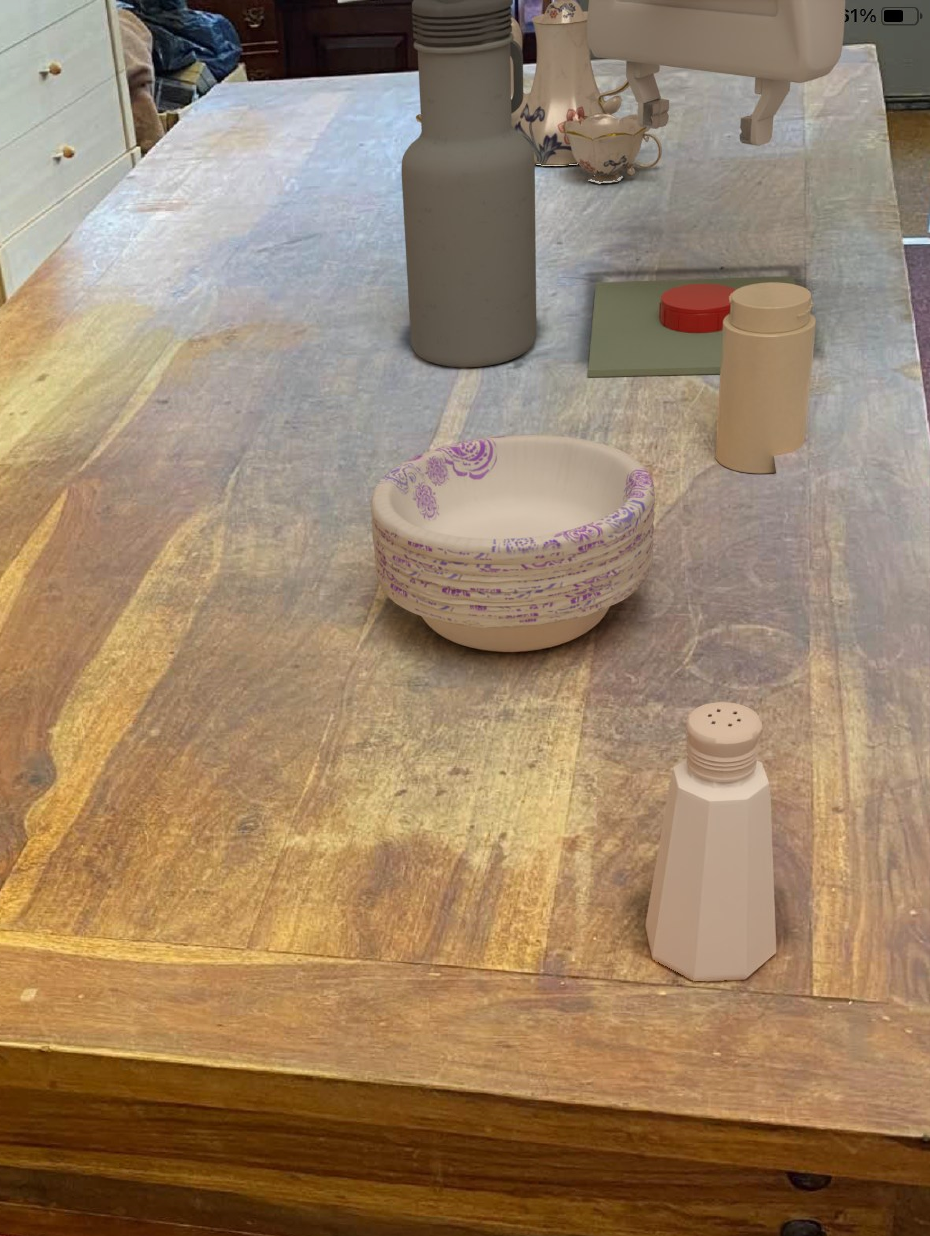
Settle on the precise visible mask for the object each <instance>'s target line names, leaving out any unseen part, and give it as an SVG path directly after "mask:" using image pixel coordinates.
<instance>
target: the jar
mask: <svg viewBox="0 0 930 1236" xmlns="http://www.w3.org/2000/svg"><path fill="white" fill-rule="evenodd" d="M812 297H813V296H812V292H811V291H810V290H809V289H808V288H807V287H804V286H801V285H797V284H796V285H794V284H788V283H774V282H772V283H758V284H752V285H747V286H744V287H741V288H739V289H737V290H735V291H734V292H733V293H731V295H730V296H729V302H731V305H730V314H728V315H727V316H726V317H725V318H724V320H723V330H722V348H721V366H720V374H719V385H718V403H717V405H718V407H717V421H716V438H715V439H716V441H715V459H716V461H717V462H718V463H719V464H720V465H722V466H723V467H725V468H726V469H730V470H733V471H735V472H741V473H747V474H775V473H777V469H776V461H775V456H776V457H777V456H782V455H786V454H790V453H793V452H796V451H797V450H800V448H802V447H803V446H804V445H805V443H806V438H807V427H808V419H809V418H808V417H809V406H810V405H809V404H810V396H811V395H810V394H811V383H812V372H813V371H812V370H813V362H814V361H813V360H814V349H815V337H816V328H817V327H816V326H817V319H816V317H815V315H813V314H812V313H811V311H812V309H813V307H814V303H813V299H812Z"/></svg>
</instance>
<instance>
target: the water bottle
mask: <svg viewBox="0 0 930 1236" xmlns="http://www.w3.org/2000/svg"><path fill="white" fill-rule="evenodd" d="M513 4H514V0H412V2H411V13H412V15H411V17H412V31H413V32H412V35H413V36H412V38H413V39H415V41H414V42H413V48H414V49H415V50H416V51H417V62H418V63H417V64H418V65H417V67H418V83H419V84H418V85H419V107H420V109H419V110H420V114H421V123H420V125H421V126H420V127H421V131H420V135H419V136H418V137H417V138H416V139H415V140H414V141H413V142H411V143H410V145H409V146H408V147H407V149H406V150H405V152H404V153H403V155H402V158H401V159H402V160H401V189H402V191H401V192H402V205H403V206H402V208H403V226H404V242H405V243H404V244H405V261H406V277H407V278H406V279H407V280H406V281H407V296H408V298H407V299H408V314H409V333H410V344H411V347H412V349H413V351H414V352H415V354H416V355H417V356H419V357H420V358H421V359H423V360H425V361H427V362H430V363H432V364H435V365H439V366H445V367H453V368H480V367H486V366H487V367H488V366H494V365H498V364H502V363H507V362H509V361H511V360H514V359H516V358H519V357H520V356H522V355H523V354H525V353H527V352H528V351H530V349H531V348H532V346H533V345H534V343H535V341H536V338H537V332H538V331H537V252H536V251H537V250H536V249H537V248H536V247H537V244H536V243H537V242H536V236H537V235H536V165H535V161H534V153H533V149H532V146H531V145H530V143H529V142H528V141H527V139H526V138H525V137H524V136H523V135H521V134H520V133H518V132H517V131H515V130H514V129H513V127H512V121H511V113H514V112H515V111H516V110H517V109H518V108H519V107H520V106H521V104H522V101H523V92H524V55H523V48H522V49H521V47H520V46H519V44H518V43H517V42H515V41H514V40H513V39H514V36H513V34H512V33H511V32H512V26H511V24H512V20H511V18H512V17H513V15H512V13H511V12H513V10H512V9H513V8H512V6H513ZM510 56H511V58H512V60H513V77H514V93H513V97H512V99H511V66H510Z"/></svg>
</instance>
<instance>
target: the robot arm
mask: <svg viewBox="0 0 930 1236" xmlns="http://www.w3.org/2000/svg"><path fill="white" fill-rule="evenodd" d="M587 7H588V8H587V12H588V17H587V42H588V44H589V47H590V52H592V54H593V56H594V57H595V58H600V59H607V60H614V61H615V60H616V61H623V62H626V63H625V77H626V81H627V80H628V82H629V85H630V86H629V87H630V89H631V92H632V94H633V96H634V99H635V101H636V103H638V104H637V115H638V125H639V126H640V127H644V128H650V129H653V130H654V129H655V130H657V129H659V128H664V127H666V126H667V124H668V123H669V113H668V112H669V109H670V99H666V98H662V96H661V93H660V90H659V86H658V83H657V81H656V77H655V74H657V73H659V72H660V67H661V66H662V67H663V66H664V67H671V68H679V69H687V70H693V71H702V72H708V73H717V74H725V75H732V76H733V75H734V76H739V77H740V76H742V77H748V78H754V94H755V95H761V96H760V97H759V99H758V101H757V102H756V105H755V107H754V110H753V112H752V114H750V115H745V116H742V117H740V126H739V128H740V131H741V132H740V134H739V142H740V143H741V144H744V145H751V146H757V147H761V146H763V145H765V144H768V143H770V142H771V141H772V138H773V129H774V116H775V115H776V114H777V113H778V111H779V110H780V107H781V106H782V104H783V103H784V100H785V99H786V97H787V96H788V95H789V92H790V91H791V83H794V84H796V83H797V84H803V83H807V82H811V81H814V80H817V79H820V78H823V77H825V76H827V75H829V74H830V73H831V72H832V71H833V69H834V68H835V67H836V65H837V64H838V63H839V61H840V59H841V56H842V51H843V45H844V35H845V34H844V33H845V21H846V20H845V19H846V0H588V6H587Z"/></svg>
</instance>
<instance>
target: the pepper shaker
mask: <svg viewBox="0 0 930 1236" xmlns="http://www.w3.org/2000/svg"><path fill="white" fill-rule="evenodd" d="M763 723H764V722H763V721H762V718H761V717H760V716H759V715H758V713H756V711H755V710H754V709H752V708H750V707H748V706H745V705H743V704H741V703H735V702H730V701H729V702H728V701H715V702H709V703H705V704H702V705H700V706H698V707H696V708H695V709H693V710H691V712H690V713H689V714H688V716H687V717H686V719H685V729H686V733H687V738H686V750H685V751H686V755H687V757H686V758H684V759H682V760H681V761H680V762H679V763H677V764H676V765H674V766H673V767H672V772H671V775H670V779H669V784H668V790H667V795H666V796H667V797H666V801H665V806H664V807H665V808H664V814H663V819H662V825H661V831H660V837H659V843H658V848H657V855H656V860H655V866H654V873H653V879H652V884H651V890H650V895H649V901H648V906H647V907H648V908H647V913H646V919H645V926H644V927H645V931H646V937H647V940H648V945H649V950H650V955H651V959H652V960H653V961H654V960H655V961H654V962H656V963H658V962H659V963H660V964H659V963H658V964H659V965H661V964H663V965H664V966H663V965H662V966H663V967H665V966H667V967H668V968H667V967H666V968H667V969H669V968H670V969H669V970H671V969H672V970H671V971H673V970H674V971H673V972H675V971H676V972H675V973H677V972H678V973H680V974H681V976H682V975H684V976H685V977H684V976H683V977H684V978H686V977H688V978H689V979H688V978H687V979H688V980H690V979H691V980H690V981H692V980H693V981H692V982H694V981H706V982H722V981H723V982H724V980H727V981H745V980H746V979H748V978H749V977H750V976H751V975H753V973H754V972H756V971H757V970H758V969H759V968H760V967H761V966H763V965H764V964H766V962H767V961H768V960H769V959H771V958H772V957H773V956H774V955H776V953H777V934H776V907H775V905H776V904H775V880H774V879H775V878H774V877H775V876H774V853H773V851H774V850H773V849H774V848H773V828H772V827H773V825H772V824H773V822H772V801H771V800H772V799H771V789H770V782H769V779H768V776H767V773H766V771H765V768H764V763H763V762H762V761H759V760H757V759H758V757H759V750H760V741H759V740H760V737H761V735H762V732H763ZM678 973H677V974H678ZM680 974H679V975H680Z"/></svg>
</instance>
